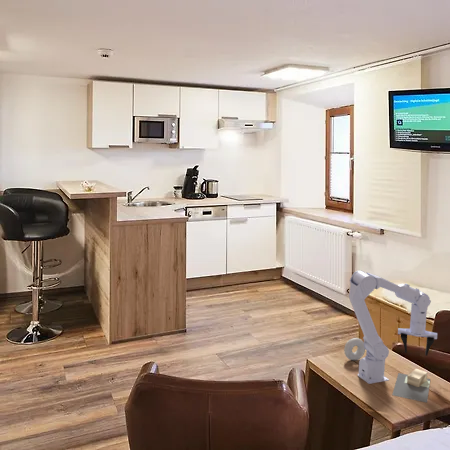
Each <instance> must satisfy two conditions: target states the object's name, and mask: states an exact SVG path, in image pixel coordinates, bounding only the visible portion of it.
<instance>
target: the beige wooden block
mask: <svg viewBox="0 0 450 450" xmlns="http://www.w3.org/2000/svg"><path fill="white" fill-rule="evenodd" d="M407 375H408V376H407V384H410V385H413V386H416V387H420V386H421V385H422V384H423V383H424V382H426V381H427V379H428V371H424V370H423V369H418V368H415V369H414V370H412V371H411V372H409V374H407Z"/></svg>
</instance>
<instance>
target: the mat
mask: <svg viewBox="0 0 450 450" xmlns="http://www.w3.org/2000/svg"><path fill="white" fill-rule="evenodd" d="M407 376H408V374H405V373H401V372H398V374H397V377H396V380H395V384H394V387H393V391H392V394H391V395H392V396H394V397H400V398H403V399H408V400H414V401H417V402H422V403H425V404H427V403H428V400H429V392H430V384H431V378H427V381H426V382H424V383H423V384H422V385H421V386H420V387H416V386H413V385H410V384H407Z"/></svg>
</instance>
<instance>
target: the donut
mask: <svg viewBox="0 0 450 450" xmlns="http://www.w3.org/2000/svg"><path fill="white" fill-rule="evenodd" d="M355 347H357V348H356V351H355V352H353V349H354V348H355ZM343 352H344V355H345V357H346V358H347V360H350V361H358V360H360V359H362V358H363V356H364V354H366V353H365V352H366V349H365V348H364V340H363V339H361V338H358V337H353V338H350V339H349V340H347V342H346V343H345V345H344V349H343Z"/></svg>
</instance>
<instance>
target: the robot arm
mask: <svg viewBox="0 0 450 450" xmlns="http://www.w3.org/2000/svg"><path fill="white" fill-rule="evenodd" d="M349 284H350V285H349V286H350V287H349V294H348V298H349V299H348V300H349V301H350V304H351V307H352V309H353V311H354V313H355V314H354V315H355V316H356V319H357V321H358V324H359V326H360V329H361V331H362V334H363V337H362V340H363V342H364V348H365V352H366V353H365V354H366V355H365V357H361V358H360V359H359V361H358V373H357V376H358V377H359V378H360V379H362V380H363V381H364V382H366V383H367V384H369V385H370V384H376V383H381V382H387V381H389V380H390V379H389V378H387V377H386V376H385V371H386V370H385V367H386V366H385V365H386V359H387V358H388V357H389V353H390V351H389V348H388V346H386V345H385V344H384V342H383V339H382V338H381V337H380V336H379V334H378V332H377V329H376V326H375V323H374V321H373V319H372V316H371V313H370V311H369V308H368V306H367V304H366V298H367V297H369V295H370V294H371V293H373V291H374V290H375V289H376V290H379V289H380V288H382V289H385V290H386V291H390V292H393V293H394V295H395V297H397V298H398V299H401V300H403V301H405V302H408V303H410V304H411V309H410V321H409V328H401V327H400V328H399V327H398V328H397V335H400V340H401V342H402V344H403V347H404V353H405V354H406V353H407V352H408V336H413V337H419V338H420V337H421V338H426V345H425V351H424V352H425V354H424V355H425V356H427V357H428V354H429V352H430V348H431V347H432V345H433V344H434V342H435V340H437V339H438V332H433V331H429V330H426V328H427V327H426V326H427V313H428V307H429V306H430V305H431V302H432V300H431V299H430V296H429V294H427V293H425V292H423V291H421V290H420V289H419V288H416V287H415V288H414V287H411V285H410V284H408V283H406V282H405V283H400V284H396V283H394V282H391V281H390V280H388V279H386V278H383V277H381V276H379V275H376V274H373V273H370V272H365V271H363V270H360V269H359V270H356V271H354V272H353V274H352V275H351V277H350V279H349Z"/></svg>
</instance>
